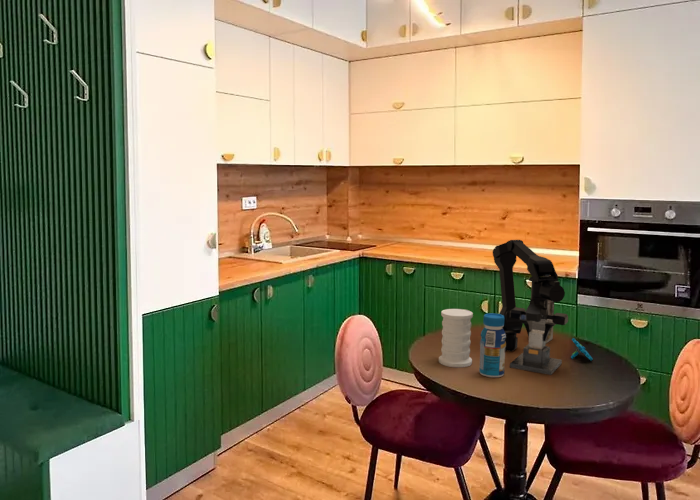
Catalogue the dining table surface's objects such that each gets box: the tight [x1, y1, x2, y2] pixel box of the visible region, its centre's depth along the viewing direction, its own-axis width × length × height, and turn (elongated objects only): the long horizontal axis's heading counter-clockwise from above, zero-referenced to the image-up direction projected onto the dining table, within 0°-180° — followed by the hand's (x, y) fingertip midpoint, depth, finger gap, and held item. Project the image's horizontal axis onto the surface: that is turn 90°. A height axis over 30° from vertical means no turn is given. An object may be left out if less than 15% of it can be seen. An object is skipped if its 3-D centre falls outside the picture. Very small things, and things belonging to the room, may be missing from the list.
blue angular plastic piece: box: [570, 337, 594, 361], centre depth 225 cm, size 11×6×10 cm
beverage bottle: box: [478, 312, 506, 378], centre depth 206 cm, size 8×8×20 cm
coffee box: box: [532, 300, 555, 344], centre depth 247 cm, size 9×6×16 cm
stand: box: [509, 343, 562, 376], centre depth 216 cm, size 14×14×7 cm
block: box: [527, 330, 547, 351], centre depth 216 cm, size 5×5×9 cm
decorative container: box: [438, 308, 474, 368], centre depth 218 cm, size 12×12×18 cm
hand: (537, 340), depth 215 cm, fingers closed on block, 5 cm apart
